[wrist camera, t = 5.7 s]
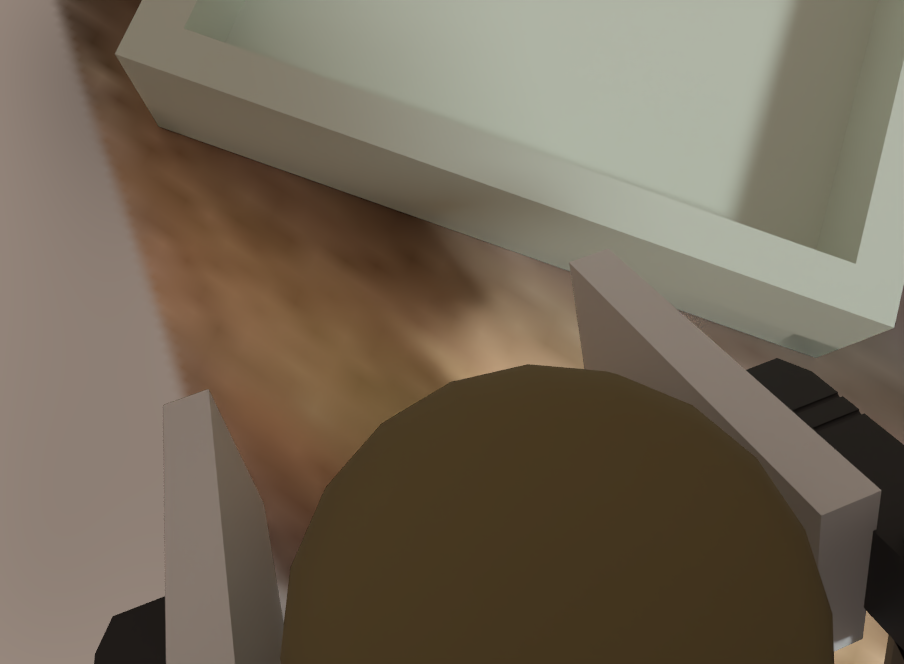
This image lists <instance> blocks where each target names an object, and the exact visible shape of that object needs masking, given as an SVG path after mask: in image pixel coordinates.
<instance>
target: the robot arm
mask: <svg viewBox="0 0 904 664" xmlns="http://www.w3.org/2000/svg"><path fill="white" fill-rule="evenodd" d="M569 265H570V272H571V279H572V286H573V293H574V300H575V307H576V314H577V320H578V327H579V334H580V341H581V348H582V355H583V362H584V369H586V370H598V371H607V372H611V373H615V374H618V375H621V376H623V377H626V378H628V379H630V380H633V381H635V382H638V383H640V384H643V385H645V386H647V387H650V388H652V389H655V390H657V391H659V392H662V393H664V394H667V395H669V396H672V397H674V398H676V399H679V400H681V401H684V402H686V403H688V404H691V405H693V406H694V407H695V408H697V409H698V410H699V411H700V412H701V413H703V414H704V415H705V416H706V417H707V418H709V419H710V420H711V421H712V422H714V423H715V424H716V425H717V426H718V427H720V428H721V429H722V430H723V431H724V432H726V433H727V434H728V435H729V436H731V437H732V438H733V439H734V440H735V441H737V442H738V443H739V444H740V445H741V446H743V447H744V448H745V449H746V450H748V451H749V452H750V453H751V454H752V455H754V456H755V457H756V458H757V459H758V461H759V462H760V464H761V465H762V467H763V468H764V469H765V471H766V472H767V474H768V475H769V477H770V478H771V480H772V481H773V483H774V484H775V486H776V487H777V489H778V490H779V492H780V493H781V495H782V496H783V498H784V499H785V500H786V502H787V503H788V505H789V506H790V508H791V509H792V511H793V512H794V514H795V515H796V517H797V518H798V520H799V521H800V523H801V524H802V526H803V527H804V528H805V531H806V534H807V537H808V540H809V543H810V546H811V549H812V552H813V555H814V558H815V561H816V564H817V568H818V571H819V574H820V577H821V580H822V583H823V586H824V589H825V592H826V595H827V598H828V601H829V604H830V607H831V611H832V614H833V644H834V651H836V650H839V649H841V648H843V647H845V646H847V645H850V644H852V643H854V642H856V641H859V640H861V639H862V638H863V631H864V623H865V615H866V611H867V612H868V613H869V614H870V615H871V616H872V617H873V618H874V619H875V620H876V621H877V622H878V623H879V625H880V626H881V627H882V628H883V629H884V630H885V631H886V632H887V633H888V634H889V636H888V642H887V648H886V655H885V661H884V664H904V445H903V444H902V443H901V442H899V441H898V440H897V439H896V438H894V437H893V436H892V435H891V434H889V433H888V432H887V431H886V430H884V429H883V428H882V427H880V426H879V425H878V424H877V423H875V422H874V421H873V420H872V419H870V418H869V417H868V416H867V415H865V414H861V413H860V412H859V409H858V408H857V407H855V406H854V405H853V404H852V403H850V402H849V401H848V400H847V399H845V398H844V397H843V396H842V397H839V395H838V392H837V391H835V390H834V389H833V388H832V387H830V386H829V385H828V384H827V383H825V382H824V381H823V380H822V379H820V378H819V377H818V376H817V375H815V374H814V373H813V372H812V371H809V370H806V369H804V368H801V367H799V366H796V365H794V364H791V363H788V362H786V361H783V360H781V359H778V358H776V359H774V360H771V361H768V362H766V363H763V364H761V365H758V366H755V367H753V368H750V369H748V370H745V369H744V368H743V367H742V366H741V365H739V364H738V363H737V362H736V361H735V360H734V359H733V358H731V357H730V356H729V355H728V354H727V353H726V352H725V351H724V350H722V349H721V348H720V347H719V346H718V345H717V344H716V343H715V342H713V341H712V340H711V339H710V338H709V337H708V336H707V335H706V334H704V333H703V332H702V331H701V330H700V329H699V328H698V327H696V326H695V325H694V324H693V323H692V322H691V321H690V320H689V319H687V318H686V317H685V316H684V315H683V314H682V313H681V312H680V311H678V310H677V309H676V308H675V307H674V306H673V305H672V304H671V303H669V302H668V301H667V300H666V299H665V298H664V297H663V296H661V295H660V294H659V293H658V292H657V291H656V290H655V289H654V288H652V287H651V286H650V285H649V284H648V283H647V282H646V281H645V280H643V279H642V278H641V277H640V276H639V275H638V274H637V273H636V272H634V271H633V270H632V269H631V268H630V267H629V266H628V265H626V264H625V263H624V262H623V261H622V260H621V259H620V258H619V257H617V256H616V255H615V254H614V253H613V252H612V251H611V250H610V249H605V250H602V251H600V252H597V253H594V254H591V255H588V256H585V257H582V258H580V259H577V260H574V261H571V262H569ZM163 438H164V439H163V443H164V445H163V446H164V447H163V448H164V533H165V597H162V598H159V599H157V600H155V601H152V602H149V603H146V604H144V605H141V606H139V607H136V608H134V609H131V610H129V611H126V612H123V613H121V614H118V615H115V616H113V617H112V619H111V622H110V624H109V626H108V628H107V630H106V632H105V634H104V636H103V638H102V640H101V643H100V645H99V647H98V649H97V651H96V653H95V661H94V664H281V661H280V653H281V645H282V636H283V628H284V623H283V617H282V611H281V604H280V598H279V592H278V586H277V580H276V574H275V568H274V562H273V556H272V550H271V543H270V537H269V531H268V525H267V519H266V513H265V507H264V503H263V501H262V499H261V497H260V495H259V493H258V490H257V488H256V486H255V484H254V482H253V480H252V478H251V476H250V474H249V472H248V470H247V468H246V466H245V464H244V461H243V459H242V457H241V455H240V453H239V451H238V449H237V447H236V445H235V443H234V441H233V439H232V437H231V435H230V432H229V430H228V428H227V426H226V424H225V422H224V420H223V418H222V416H221V414H220V412H219V410H218V408H217V406H216V403H215V401H214V399H213V397H212V395H211V393H210V391H209V389H207V390H204V391H201V392H199V393H196V394H193V395H190V396H187V397H184V398H182V399H179V400H176V401H173V402H170V403H167V404H164V405H163Z"/></svg>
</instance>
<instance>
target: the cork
mask: <svg viewBox="0 0 904 664" xmlns="http://www.w3.org/2000/svg"><path fill="white" fill-rule="evenodd" d="M280 661H281V664H834V644H833V614H832V611H831V607H830V604H829V601H828V598H827V595H826V592H825V589H824V586H823V583H822V580H821V577H820V574H819V571H818V568H817V564H816V561H815V558H814V555H813V552H812V549H811V546H810V543H809V540H808V537H807V534H806V531H805V528H804V527H803V526H802V524H801V523H800V521H799V520H798V518H797V517H796V515H795V514H794V512H793V511H792V509H791V508H790V506H789V505H788V503H787V502H786V500H785V499H784V498H783V496H782V495H781V493H780V492H779V490H778V489H777V487H776V486H775V484H774V483H773V481H772V480H771V478H770V477H769V475H768V474H767V472H766V471H765V469H764V468H763V467H762V465H761V464H760V462H759V461H758V459H757V458H756V457H755V456H754V455H752V454H751V453H750V452H749V451H748V450H746V449H745V448H744V447H743V446H741V445H740V444H739V443H738V442H737V441H735V440H734V439H733V438H732V437H731V436H729V435H728V434H727V433H726V432H724V431H723V430H722V429H721V428H720V427H718V426H717V425H716V424H715V423H714V422H712V421H711V420H710V419H709V418H707V417H706V416H705V415H704V414H703V413H701V412H700V411H699V410H698V409H697V408H695V407H694V406H693V405H691V404H688V403H686V402H684V401H681V400H679V399H676V398H674V397H672V396H669V395H667V394H664V393H662V392H659V391H657V390H655V389H652V388H650V387H647V386H645V385H643V384H640V383H638V382H635V381H633V380H630V379H628V378H626V377H623V376H621V375H618V374H615V373H611V372H607V371H598V370H586V369H575V368H563V367H552V366H540V365H528V364H527V365H523V366H519V367H514V368H510V369H506V370H501V371H497V372H493V373H488V374H484V375H480V376H475V377H471V378H467V379H462V380H458V381H454V382H450V383H449V384H447V385H445V386H444V387H442V388H440V389H439V390H437V391H435V392H434V393H432V394H430V395H429V396H427V397H425V398H424V399H422V400H420V401H419V402H417V403H415V404H414V405H412V406H410V407H409V408H407V409H405V410H404V411H402V412H400V413H399V414H397V415H395V416H394V417H392V418H390V419H389V420H387V421H385V422H384V423H382V424H381V425H380V426H379V427H378V428H377V429H376V431H375V432H374V433H373V434H372V435H371V436H370V437H369V439H368V440H367V441H366V442H365V443H364V444H363V445H362V447H361V448H360V449H359V450H358V451H357V452H356V453H355V454H354V456H353V457H352V458H351V459H350V460H349V461H348V462H347V464H346V465H345V466H344V467H343V468H342V469H341V470H340V472H339V473H338V474H337V475H336V476H335V477H334V478H333V480H332V481H331V482H330V483H329V484H328V485H327V486H326V488H325V490H324V493H323V495H322V497H321V499H320V502H319V504H318V506H317V509H316V511H315V513H314V515H313V518H312V520H311V522H310V524H309V527H308V529H307V531H306V533H305V536H304V538H303V540H302V543H301V545H300V547H299V549H298V552H297V554H296V556H295V558H294V561H293V563H292V565H291V567H290V576H289V585H288V593H287V602H286V610H285V619H284V628H283V636H282V645H281V653H280Z"/></svg>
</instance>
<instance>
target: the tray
mask: <svg viewBox="0 0 904 664" xmlns="http://www.w3.org/2000/svg"><path fill="white" fill-rule="evenodd" d="M115 55H116V57H117V58H118V60H119V62H120V63H121V65H122V67H123V68H124V70H125V72H126V73H127V75H128V77H129V78H130V80H131V82H132V83H133V85H134V87H135V88H136V90H137V92H138V93H139V95H140V97H141V98H142V100H143V101H144V103H145V105H146V106H147V108H148V110H149V111H150V113H151V115H152V116H153V118H154V120H155V121H156V123H157V125H158V126H159V127H162V128H164V129H167V130H170V131H173V132H176V133H179V134H181V135H184V136H187V137H190V138H193V139H196V140H199V141H201V142H204V143H207V144H210V145H213V146H216V147H218V148H221V149H224V150H227V151H230V152H233V153H235V154H238V155H241V156H244V157H247V158H250V159H252V160H255V161H258V162H261V163H264V164H267V165H269V166H272V167H275V168H278V169H281V170H284V171H287V172H289V173H292V174H295V175H298V176H301V177H304V178H306V179H309V180H312V181H315V182H318V183H321V184H323V185H326V186H329V187H332V188H335V189H338V190H340V191H343V192H346V193H349V194H352V195H355V196H357V197H360V198H363V199H366V200H369V201H372V202H375V203H377V204H380V205H383V206H386V207H389V208H392V209H394V210H397V211H400V212H403V213H406V214H409V215H411V216H414V217H417V218H420V219H423V220H426V221H428V222H431V223H434V224H437V225H440V226H443V227H446V228H448V229H451V230H454V231H457V232H460V233H463V234H465V235H468V236H471V237H474V238H477V239H480V240H482V241H485V242H488V243H491V244H494V245H497V246H499V247H502V248H505V249H508V250H511V251H514V252H516V253H519V254H522V255H525V256H528V257H531V258H534V259H536V260H539V261H542V262H545V263H548V264H551V265H553V266H556V267H559V268H562V269H565V270H568V271H570V265H569V262H571V261H574V260H577V259H580V258H582V257H585V256H588V255H591V254H594V253H597V252H600V251H602V250H605V249H610V250H611V251H612V252H613V253H614V254H615V255H616V256H617V257H619V258H620V259H621V260H622V261H623V262H624V263H625V264H626V265H628V266H629V267H630V268H631V269H632V270H633V271H634V272H636V273H637V274H638V275H639V276H640V277H641V278H642V279H643V280H645V281H646V282H647V283H648V284H649V285H650V286H651V287H652V288H654V289H655V290H656V291H657V292H658V293H659V294H660V295H661V296H663V297H664V298H665V299H666V300H667V301H668V302H669V303H671V304H672V305H673V306H674V307H675V308H676V309H678V310H681V311H684V312H687V313H690V314H693V315H695V316H698V317H701V318H704V319H707V320H710V321H712V322H715V323H718V324H721V325H724V326H727V327H729V328H732V329H735V330H738V331H741V332H744V333H746V334H749V335H752V336H755V337H758V338H761V339H763V340H766V341H769V342H772V343H775V344H778V345H781V346H783V347H786V348H789V349H792V350H795V351H798V352H800V353H803V354H806V355H809V356H812V357H815V358H817V357H820V356H822V355H825V354H827V353H830V352H832V351H835V350H838V349H840V348H843V347H845V346H848V345H851V344H853V343H856V342H858V341H861V340H864V339H866V338H869V337H871V336H874V335H877V334H879V333H882V332H884V331H887V330H889V329H892V328H894V326H895V321H896V317H897V312H898V308H899V303H900V298H901V294H902V289H903V285H904V0H142V1H141V3H140V5H139V7H138V9H137V11H136V13H135V15H134V17H133V19H132V21H131V23H130V25H129V27H128V29H127V31H126V33H125V35H124V37H123V39H122V41H121V43H120V45H119V47H118V49H117V51H116V53H115Z"/></svg>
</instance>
